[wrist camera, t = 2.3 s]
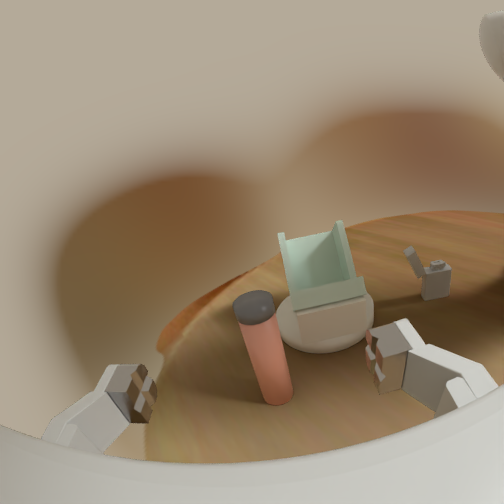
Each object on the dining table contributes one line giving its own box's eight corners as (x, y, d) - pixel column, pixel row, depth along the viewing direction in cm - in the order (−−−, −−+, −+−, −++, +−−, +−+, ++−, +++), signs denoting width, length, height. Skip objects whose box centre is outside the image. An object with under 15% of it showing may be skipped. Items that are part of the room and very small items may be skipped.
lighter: (444, 289, 36) (448, 238, 33) (449, 295, 34) (453, 243, 31) (402, 298, 37) (402, 246, 34) (405, 304, 36) (406, 251, 33)
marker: (280, 377, 30) (256, 286, 26) (300, 392, 28) (280, 297, 23) (256, 394, 29) (225, 304, 24) (276, 410, 26) (247, 317, 22)
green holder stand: (275, 304, 44) (257, 227, 40) (357, 286, 43) (350, 208, 39) (281, 362, 32) (258, 268, 28) (387, 337, 31) (388, 240, 27)
